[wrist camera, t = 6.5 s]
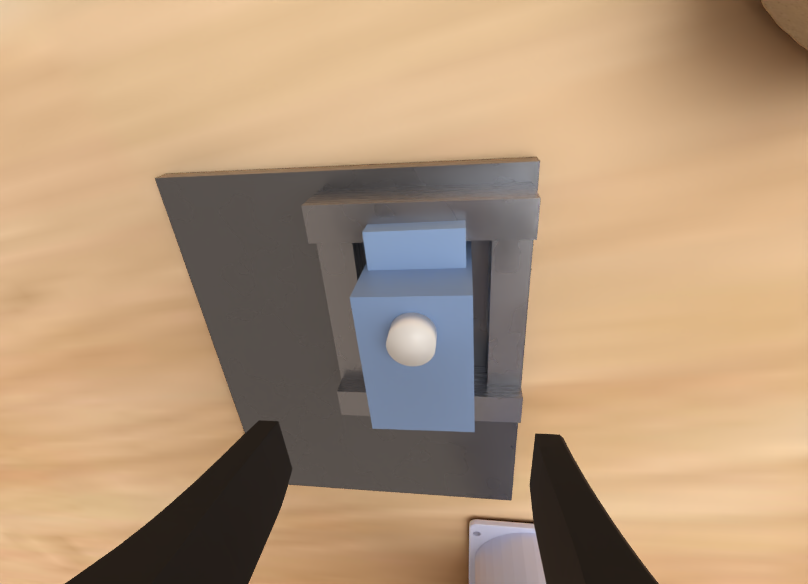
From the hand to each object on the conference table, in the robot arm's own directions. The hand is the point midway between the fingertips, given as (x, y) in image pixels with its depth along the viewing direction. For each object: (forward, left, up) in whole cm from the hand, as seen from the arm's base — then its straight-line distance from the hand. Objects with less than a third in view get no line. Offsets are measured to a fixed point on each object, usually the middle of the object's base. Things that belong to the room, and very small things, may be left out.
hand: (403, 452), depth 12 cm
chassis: (-4, +4, -9) cm, 11 cm away
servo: (0, 0, -9) cm, 9 cm away
